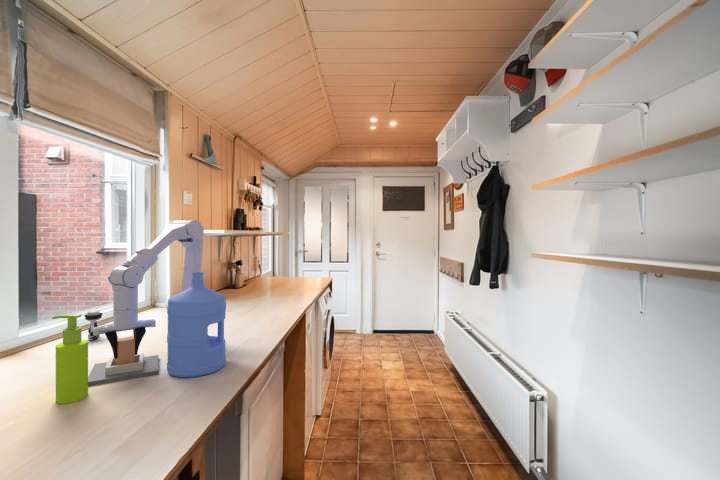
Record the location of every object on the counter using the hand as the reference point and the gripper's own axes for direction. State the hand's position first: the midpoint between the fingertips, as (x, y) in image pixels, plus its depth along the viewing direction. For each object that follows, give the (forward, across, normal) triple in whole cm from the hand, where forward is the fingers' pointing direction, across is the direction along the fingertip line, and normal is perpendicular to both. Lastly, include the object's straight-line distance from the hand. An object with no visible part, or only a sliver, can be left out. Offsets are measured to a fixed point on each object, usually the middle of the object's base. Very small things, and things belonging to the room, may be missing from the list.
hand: (125, 355), depth 97 cm
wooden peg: (+2, 0, 0) cm, 2 cm away
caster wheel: (+4, +5, -42) cm, 42 cm away
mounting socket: (+4, 0, 0) cm, 4 cm away
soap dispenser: (+4, +12, +11) cm, 17 cm away
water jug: (+4, -16, +10) cm, 20 cm away
